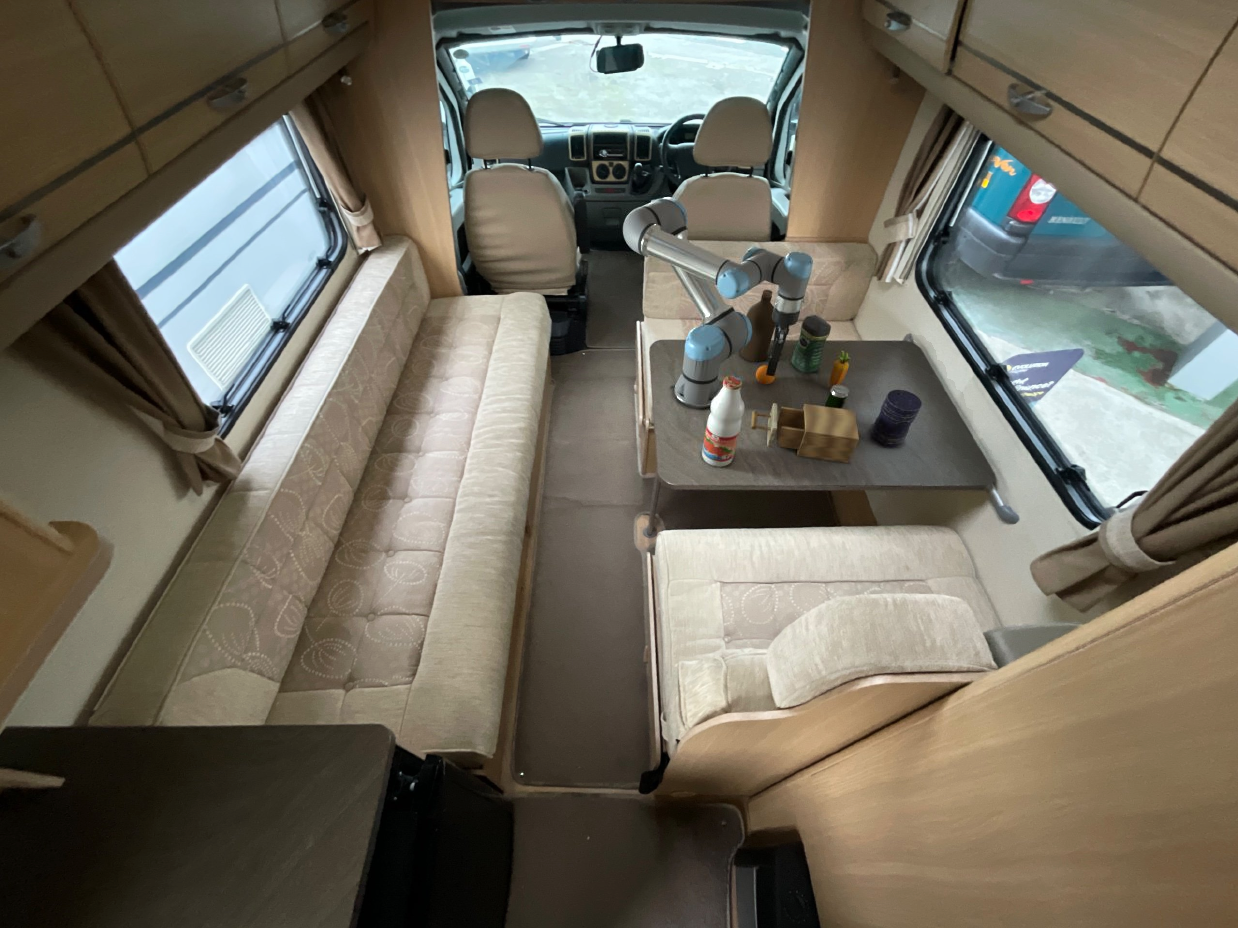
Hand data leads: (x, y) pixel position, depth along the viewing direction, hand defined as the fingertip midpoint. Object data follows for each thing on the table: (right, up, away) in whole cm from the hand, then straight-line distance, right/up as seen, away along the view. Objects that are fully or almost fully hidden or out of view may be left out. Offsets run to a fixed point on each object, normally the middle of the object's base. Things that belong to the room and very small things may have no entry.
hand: (770, 374), depth 178 cm
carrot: (+24, -3, +12) cm, 27 cm away
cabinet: (+14, -23, -7) cm, 28 cm away
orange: (+2, +2, +12) cm, 12 cm away
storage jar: (+35, -20, -4) cm, 41 cm away
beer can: (+19, -14, +1) cm, 24 cm away
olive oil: (+1, +11, +26) cm, 28 cm away
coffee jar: (+18, +6, +22) cm, 29 cm away
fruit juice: (-19, -26, -11) cm, 35 cm away
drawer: (+1, -20, -6) cm, 21 cm away
